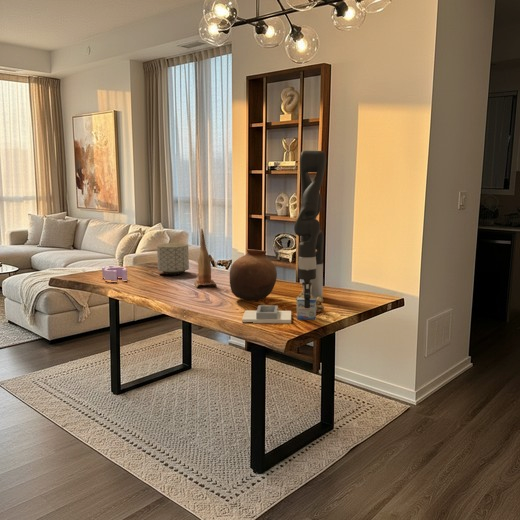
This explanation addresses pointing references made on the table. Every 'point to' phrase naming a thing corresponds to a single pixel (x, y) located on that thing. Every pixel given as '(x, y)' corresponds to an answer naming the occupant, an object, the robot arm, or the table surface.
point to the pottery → (252, 276)
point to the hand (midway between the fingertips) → (306, 305)
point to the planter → (173, 258)
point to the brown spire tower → (204, 265)
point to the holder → (267, 315)
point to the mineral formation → (318, 301)
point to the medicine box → (306, 309)
